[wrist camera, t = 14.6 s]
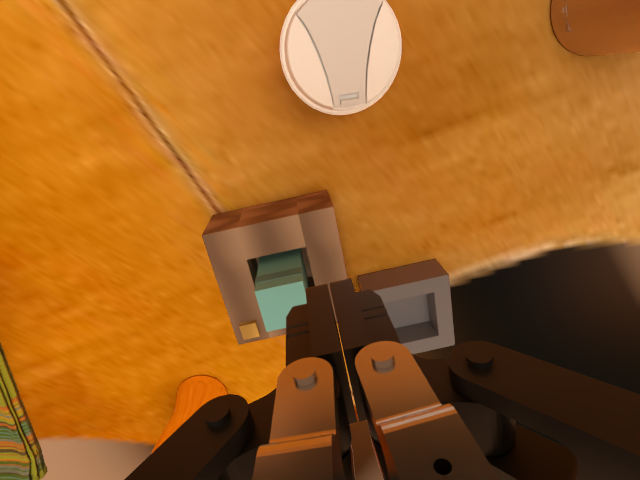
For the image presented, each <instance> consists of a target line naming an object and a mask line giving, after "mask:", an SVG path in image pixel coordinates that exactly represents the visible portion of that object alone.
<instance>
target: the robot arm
mask: <svg viewBox="0 0 640 480" xmlns="http://www.w3.org/2000/svg"><path fill="white" fill-rule="evenodd" d="M551 21H552V26H553V30H554V33H555V35H556V37H557V38H558V40H559V42H560V43H561V44H562V45H563V46H564V47H565V48H566V49H567V50H569V51H571V52H572V53H574V54H578V55H582V56H595V55H605V54H616V53H628V52H638V51H640V0H552V4H551ZM329 285H330V290H331V295H332V299H333V304H334V309H335V313H336V318H337V323H338V328H339V332H340V337H341V342H342V346H343V351H344V356H345V360H346V364H347V369H348V373H349V378H350V382H351V386H352V391H353V395H354V400H355V404H356V408H357V413H358V417H359V421H363V420H367V423H368V427H369V431H370V436H371V440H372V445H373V449H374V452H375V455H376V458H377V461H378V464H379V467H380V470H381V473H382V476H383V479H384V480H640V395H639V394H636V393H633V392H630V391H628V390H625V389H622V388H619V387H616V386H613V385H610V384H608V383H605V382H602V381H599V380H596V379H593V378H590V377H588V376H585V375H582V374H579V373H576V372H573V371H570V370H568V369H565V368H562V367H559V366H556V365H553V364H550V363H547V362H544V361H541V360H539V359H536V358H533V357H530V356H527V355H525V354H522V353H519V352H516V351H513V350H510V349H507V348H504V347H501V346H499V345H496V344H492V343H489V342H483V341H471V342H465V343H462V344H460V345H458V346H456V347H455V348H453V349H452V350H451V351H450V353H449V355H448V360H444V359H441V360H439V359H425V358H420V357H417V356H415V355H412V354H411V353H410V351H409V350H408V348H406V347H405V346H404V345H402V344H401V342H400V340H399V338H398V335H397V333H396V331H395V329H394V326H393V324H392V322H391V319H390V317H389V315H388V313H387V310H386V308H385V306H384V304H383V301H382V299H381V297H380V296H379V295H378V294H376V293H375V292H373V291H372V290H370V289H369V290H365V291H360V292H356V293H355V290H354V287H353V283H352V280H351V278H349V279H345V280H340V281H336V282H331V283H329ZM306 301H307V304H302V305H298V306H293V307H292V308H291V310H290V312H289V313H288V315H287V316H286V367H285V368H284V369H283V371H282V372H281V373H280V375H279V377H278V381H277V388H276V389H275V390H273V391H272V392H271V393H269V394H268V395H266V396H264V397H262V398H260V399H258V400H256V401H254V402H252V403H250V404H248V403H247V401H246V400H245V399H244V398H243V397H241V396H239V395H233V394H228V395H222V396H219V397H216V398H214V399H212V400H210V401H208V402H207V403H205V404H204V405H202V406H201V407H200V408H199V409H198V410H197V411H196V412H195V413H194V414H193V415H192V416H191V417H190V418H189V419H187V420H186V421H185V422H184V423H183V424H182V425H181V426H180V427H179V428H178V429H177V430H176V431H175V432H174V433H173V434H172V435H171V436H170V437H169V438H168V439H167V440H165V441H164V442H163V443H162V444H161V445H160V446H159V447H158V448H157V449H156V450H155V451H154V452H153V453H152V454H151V455H150V456H149V457H148V458H147V459H146V460H145V461H144V462H142V464H140V465H139V466H138V467H137V468H136V469H135V470H134V471H133V472H132V473H131V474H130V475H129V476H128V477H127V478H126V479H125V480H355V472H354V461H353V451H352V447H351V439H352V438H351V431H350V425H349V424H350V423H354V422H357V420H356V415H355V410H354V405H353V401H352V396H351V391H350V386H349V381H348V376H347V372H346V367H345V362H344V357H343V352H342V347H341V343H340V338H339V333H338V329H337V324H336V320H335V316H334V311H333V307H332V302H331V298H330V294H329V289H328V285H327V284H322V285H318V286H313V287H309V288H306ZM515 421H517V422H519V423H521V424H524V425H526V426H528V427H530V428H532V429H534V430H536V431H539V432H540V433H543V434H545V435H547V436H549V437H551V438H553V439H555V440H557V441H559V442H561V443H562V444H564V445H565V446H566V447H568V448H569V449H568V448H566V447H564V446H562V445H560V444H558V443H556V442H554V441H551V440H549V439H547V438H545V437H543V436H541V435H539V434H537V433H535V432H533V431H531V430H528V429H526V428H524V427H522V426H520V425H518V424H516V423H515Z"/></svg>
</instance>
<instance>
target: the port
mask: <svg viewBox="0 0 640 480" xmlns="http://www.w3.org/2000/svg"><path fill="white" fill-rule="evenodd" d="M202 238H203V241H204V244H205V246H206V249H207V252H208V255H209V258H210V261H211V264H212V267H213V270H214V273H215V276H216V279H217V282H218V285H219V288H220V291H221V294H222V297H223V300H224V303H225V306H226V309H227V312H228V315H229V318H230V321H231V324H232V327H233V329H234V332H235V335H236V338H237V341H238V344H244V343H248V342H253V341H258V340H262V339H267V338H271V337H276V336H280V335H285V334H286V328H283V329H278V330H273V331H269V332H266V328H265V325H264V322H263V318H262V315H261V312H260V308H259V305H258V302H257V298H256V295H255V292H254V291H255V279H256V277H257V271H258V264H259V257H261V256H266V255H270V254H275V253H279V252H284V251H289V250H293V249H298V248H301V250H302V254H303V258H304V263H305V267H306V271H307V279H308V288H309V287H313V286H318V285H322V284H327V285H328V289H329V294H330V298H331V302H332V307H333V311H334V316H335V320H336V323H337V318H336V313H335V309H334V304H333V299H332V295H331V290H330V285H329V283H331V282H336V281H340V280H345V279H348V278H347V273H346V268H345V263H344V258H343V253H342V248H341V243H340V238H339V233H338V228H337V223H336V217H335V212H334V207H333V205H332V202H331V200H330V197H329V195H328V192H327V190H325V191H321V192H316V193H312V194H307V195H303V196H298V197H293V198H289V199H284V200H280V201H275V202H271V203H266V204H261V205H257V206H252V207H248V208H243V209H239V210H234V211H230V212H225V213H220V214H216V215H213V216H212V218H211V220H210V221H209V223H208V225H207V227H206V229H205V231H204V232H203V234H202Z"/></svg>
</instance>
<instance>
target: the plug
mask: <svg viewBox="0 0 640 480" xmlns="http://www.w3.org/2000/svg"><path fill="white" fill-rule="evenodd" d="M306 288H308V279H307V271H306V267H305V263H304V258H303V254H302V250H301V248H298V249H293V250H289V251H284V252H279V253H275V254H270V255H266V256H261V257H259V264H258V271H257V277H256V279H255V291H254V292H255V295H256V298H257V302H258V305H259V308H260V312H261V315H262V318H263V322H264V325H265V328H266V332H269V331H273V330H278V329H283V328H286V316H287V315H288V313H289V312H290V310H291V308H292V307H293V306H298V305H302V304H307V301H306Z"/></svg>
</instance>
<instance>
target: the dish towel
mask: <svg viewBox="0 0 640 480" xmlns="http://www.w3.org/2000/svg"><path fill="white" fill-rule="evenodd" d="M46 473H47V467H46V465H45V463H44V459H43V454H42V450H41V447H40V444H39V441H38V440H37V438H36V436H35V433H34V431H33V428H32V426H31V423H30V420H29V418H28V415H27V413H26V410H25V407H24V405H23V402H22V400H21V397H20V394H19V391H18V388H17V386H16V383H15V380H14V378H13V375H12V373H11V370H10V367H9V365H8V362H7V360H6V357H5V353H4V351H3V349H2V346H1V344H0V480H40V479H42V478H43V477H44V475H45V474H46Z"/></svg>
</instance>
